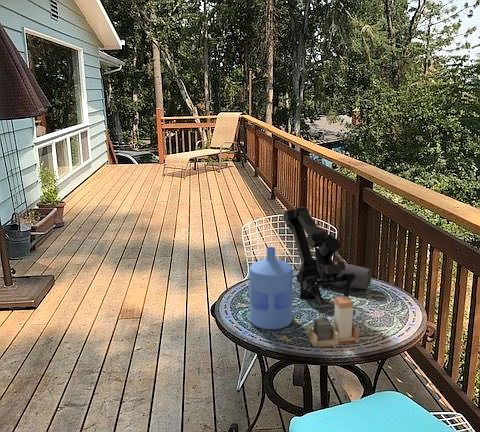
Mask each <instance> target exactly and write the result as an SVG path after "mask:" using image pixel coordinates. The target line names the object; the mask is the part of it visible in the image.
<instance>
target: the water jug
mask: <svg viewBox="0 0 480 432" xmlns="http://www.w3.org/2000/svg"><path fill="white" fill-rule="evenodd" d="M265 250H266V253H265V255H266V258H264V259H262V260H258V261H256V262H253V263H252V264H251V265H250V266H249V275H248V276H249V277H248V278H249V279H248V280H249V302H250V303H249V306H250V307H249V308H250V311H249V319H250V322H251V324H252V325H254V326H255V327H257V328H259V329H263V330H269V331H272V330H274V331H275V330H279V329H284V328H286V327H288V326H289V325H290V324H291V323H292V321H293V320H294V319H293V317H294V314H293V299H294V298H293V297H294V294H293V279H294V272H293V266H292V264H290V263H289V262H287V261H285V260H280V259H278V258H276V248H275V247H273V246H268V247H266V249H265Z"/></svg>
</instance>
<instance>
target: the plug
mask: <svg viewBox="0 0 480 432" xmlns="http://www.w3.org/2000/svg"><path fill="white" fill-rule="evenodd" d="M349 297H350V296H349ZM349 297H348V296H346V297H344V296H339V297H335V298H334V314H333V317H334V318H333V319H334V320H333V321H334V322H333V327H334V328H335V330H336V331H337V332H338V338H339V339H341V338H349V337H351V335H352V323H353V313H354V312H353V310H354V309H353V308H354V301H352V299H351V298H349Z"/></svg>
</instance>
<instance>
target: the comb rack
mask: <svg viewBox="0 0 480 432" xmlns="http://www.w3.org/2000/svg"><path fill="white" fill-rule="evenodd" d="M306 337H307V338H308V341H310V343H311V344H312V346H313V348H320V347H326V346H327V347H328V346H335V345H338V346H340V345H341V346H342V345H346V344H355V343H359V341H360V330H359V329H358V328H357V327H356V326H355V324H354V323H353V322H352V335H351V337H349V338H341V339H339V338H338V332H337V331H336V330H335V328H334V325H332V322H331V321H330V320H329V318H328V317H327V316H325V317H319V318H318V317H317V318H316V317H315V318H313V328H312V326H311V325H310V324H307V325H306Z"/></svg>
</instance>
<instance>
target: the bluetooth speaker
mask: <svg viewBox="0 0 480 432" xmlns="http://www.w3.org/2000/svg"><path fill="white" fill-rule="evenodd" d="M333 262H334V263H335V265H337V264H338V262H339V261H333ZM344 264H345V270H342V271H341V273H339V275H338V276H337V277H342V276H343V275H344V273H352V272H353V273H354V274H356V277H357V280H356V281H355V282H354V283H353V284H352V285H351V286H350V289H349V290H352V289H354V288H356V289H360V290H367V289H368V288H369V287H370V285H371V282H372V271H371V269H370V268H367V267H363V266H359V265H354V264H349V263H345V262H344ZM328 284H329V285H330V286H334V287H339V288H342V286H343V284H341V282H338V283H328Z"/></svg>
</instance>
